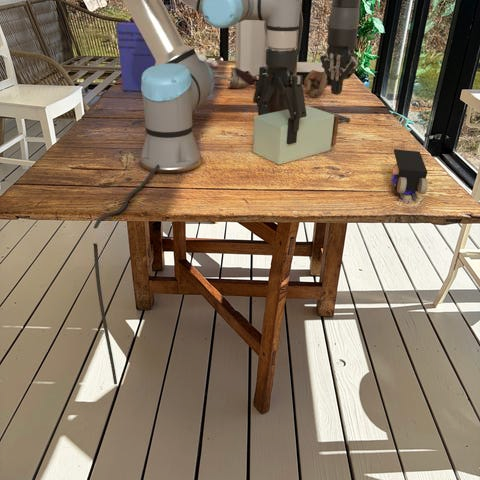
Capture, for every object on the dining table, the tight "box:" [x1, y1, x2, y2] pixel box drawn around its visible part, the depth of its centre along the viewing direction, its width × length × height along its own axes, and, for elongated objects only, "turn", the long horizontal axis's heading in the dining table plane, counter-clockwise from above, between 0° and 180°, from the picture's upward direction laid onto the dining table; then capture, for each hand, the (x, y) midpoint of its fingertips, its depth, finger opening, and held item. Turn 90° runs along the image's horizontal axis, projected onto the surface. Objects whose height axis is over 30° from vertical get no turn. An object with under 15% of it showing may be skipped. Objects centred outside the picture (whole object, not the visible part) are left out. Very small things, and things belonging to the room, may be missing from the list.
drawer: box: [327, 110, 351, 146], centre depth 132 cm, size 23×10×8 cm, turn 126°
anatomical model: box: [303, 65, 328, 98], centre depth 183 cm, size 13×9×15 cm
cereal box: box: [115, 21, 156, 92], centre depth 181 cm, size 17×5×24 cm, turn 86°
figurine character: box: [391, 148, 429, 201], centre depth 109 cm, size 7×8×15 cm
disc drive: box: [296, 61, 332, 86], centre depth 207 cm, size 18×22×5 cm
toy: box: [196, 51, 219, 68], centre depth 223 cm, size 24×25×7 cm
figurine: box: [213, 66, 259, 89], centre depth 190 cm, size 24×8×30 cm
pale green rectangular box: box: [252, 105, 334, 165], centre depth 129 cm, size 19×11×10 cm, turn 126°
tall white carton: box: [234, 20, 268, 77], centre depth 210 cm, size 19×15×28 cm
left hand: (276, 136), depth 126 cm, fingers closed on pale green rectangular box, 11 cm apart
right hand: (335, 93), depth 132 cm, fingers closed
